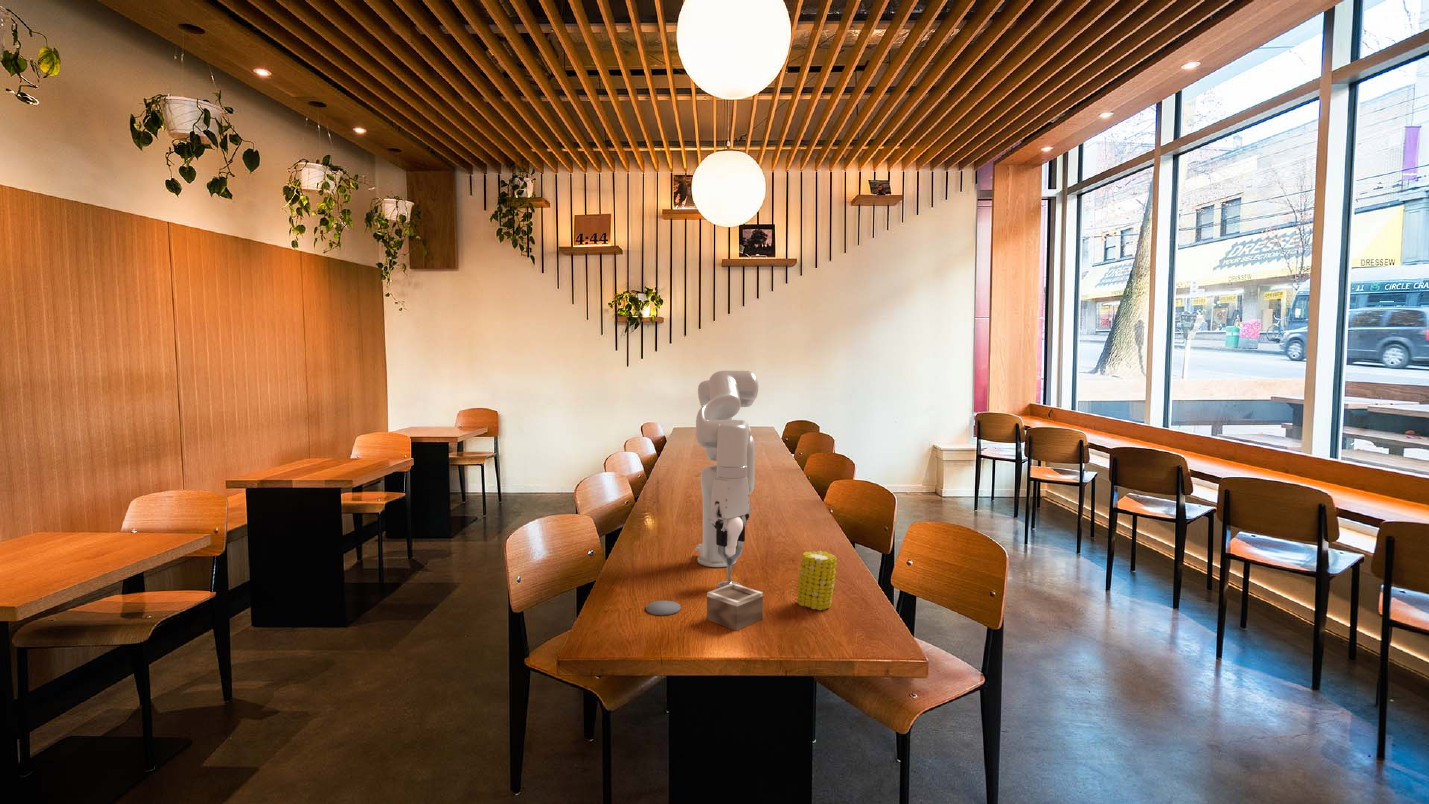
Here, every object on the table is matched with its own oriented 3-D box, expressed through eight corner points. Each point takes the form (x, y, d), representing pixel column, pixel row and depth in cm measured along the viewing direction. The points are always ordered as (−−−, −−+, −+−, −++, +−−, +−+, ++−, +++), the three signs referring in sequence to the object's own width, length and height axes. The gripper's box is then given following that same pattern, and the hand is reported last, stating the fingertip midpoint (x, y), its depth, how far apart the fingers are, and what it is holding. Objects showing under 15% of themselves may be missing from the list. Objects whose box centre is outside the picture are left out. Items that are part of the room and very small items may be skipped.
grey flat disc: (639, 611, 173) (639, 609, 173) (658, 600, 181) (658, 598, 181) (668, 618, 169) (668, 615, 169) (686, 606, 177) (686, 604, 177)
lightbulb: (717, 552, 171) (718, 510, 170) (741, 552, 171) (741, 510, 171) (719, 559, 165) (720, 516, 164) (743, 559, 165) (744, 516, 165)
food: (792, 606, 182) (826, 606, 184) (806, 612, 171) (843, 612, 173) (791, 549, 185) (825, 549, 187) (806, 552, 173) (842, 552, 175)
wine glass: (746, 582, 196) (746, 532, 195) (738, 591, 189) (739, 539, 188) (720, 579, 199) (721, 530, 198) (711, 588, 191) (712, 536, 190)
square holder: (706, 619, 168) (707, 592, 168) (733, 609, 176) (733, 583, 175) (736, 630, 161) (736, 602, 161) (762, 619, 169) (762, 592, 168)
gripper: (743, 466, 175) (742, 534, 177) (696, 474, 163) (695, 546, 164) (765, 470, 170) (764, 539, 171) (718, 478, 158) (717, 553, 159)
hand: (730, 542), depth 168 cm, fingers closed on lightbulb, 5 cm apart
